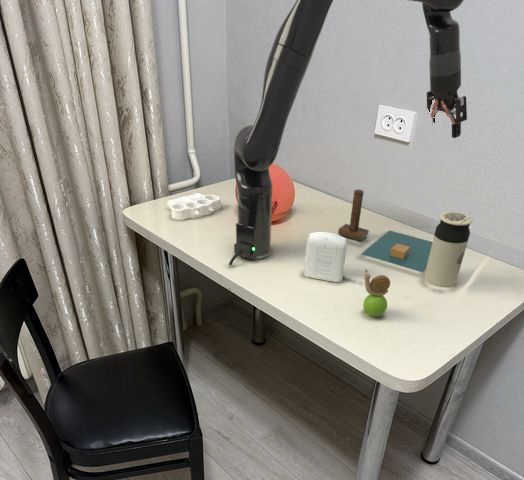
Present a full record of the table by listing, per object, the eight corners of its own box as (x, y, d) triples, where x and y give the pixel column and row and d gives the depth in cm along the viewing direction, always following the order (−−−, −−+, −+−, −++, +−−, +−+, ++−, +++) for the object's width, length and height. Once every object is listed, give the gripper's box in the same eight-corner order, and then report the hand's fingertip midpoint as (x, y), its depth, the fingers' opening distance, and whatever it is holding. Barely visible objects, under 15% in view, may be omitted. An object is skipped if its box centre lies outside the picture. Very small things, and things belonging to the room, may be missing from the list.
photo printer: (343, 276, 131) (349, 232, 124) (341, 284, 128) (346, 239, 120) (306, 270, 133) (309, 227, 126) (302, 277, 130) (305, 233, 123)
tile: (421, 276, 132) (422, 272, 131) (360, 257, 140) (360, 253, 139) (446, 249, 145) (447, 245, 144) (388, 233, 153) (389, 230, 152)
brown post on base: (360, 246, 146) (367, 196, 137) (337, 239, 149) (343, 190, 140) (367, 240, 149) (374, 191, 140) (344, 234, 152) (350, 185, 143)
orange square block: (403, 259, 137) (404, 252, 135) (389, 255, 139) (391, 248, 137) (408, 254, 139) (410, 247, 138) (395, 250, 141) (396, 243, 140)
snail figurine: (355, 308, 119) (362, 263, 111) (381, 307, 119) (390, 263, 112) (360, 321, 114) (368, 275, 107) (387, 320, 115) (397, 274, 108)
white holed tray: (204, 198, 174) (228, 211, 165) (159, 210, 165) (183, 224, 156) (203, 188, 172) (228, 201, 163) (158, 200, 163) (182, 214, 154)
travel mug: (416, 281, 129) (432, 215, 119) (435, 273, 133) (452, 208, 122) (442, 294, 125) (460, 226, 114) (461, 285, 128) (480, 218, 117)
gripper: (416, 71, 132) (419, 133, 142) (449, 78, 121) (450, 144, 131) (441, 61, 133) (442, 123, 143) (476, 67, 122) (475, 134, 132)
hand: (446, 133), depth 137 cm, fingers open, 8 cm apart
